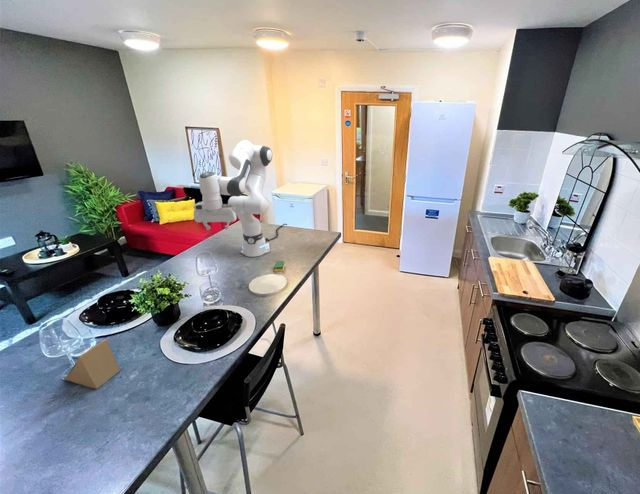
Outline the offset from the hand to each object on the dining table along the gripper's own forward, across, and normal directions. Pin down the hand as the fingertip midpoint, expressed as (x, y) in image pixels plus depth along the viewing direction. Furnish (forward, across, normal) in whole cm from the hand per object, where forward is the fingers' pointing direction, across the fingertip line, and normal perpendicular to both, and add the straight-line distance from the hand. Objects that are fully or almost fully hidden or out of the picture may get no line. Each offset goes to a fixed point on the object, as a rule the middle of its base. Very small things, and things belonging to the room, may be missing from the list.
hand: (218, 229), depth 155 cm
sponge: (+29, -29, -4) cm, 42 cm away
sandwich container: (+30, +27, +66) cm, 78 cm away
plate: (+29, -25, +13) cm, 41 cm away
